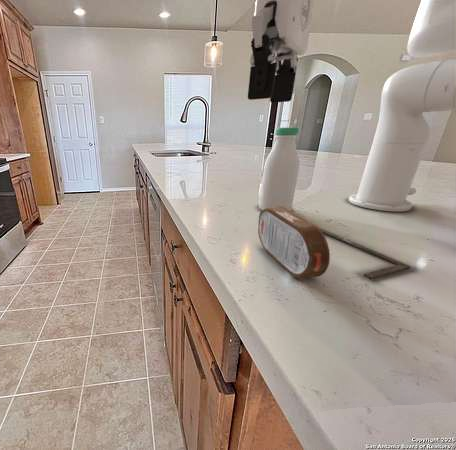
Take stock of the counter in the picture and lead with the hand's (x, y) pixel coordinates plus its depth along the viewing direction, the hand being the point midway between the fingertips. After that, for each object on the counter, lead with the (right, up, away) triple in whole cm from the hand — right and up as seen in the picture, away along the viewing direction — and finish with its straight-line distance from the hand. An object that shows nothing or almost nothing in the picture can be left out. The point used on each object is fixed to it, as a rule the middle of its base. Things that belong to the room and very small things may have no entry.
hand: (270, 100), depth 37 cm
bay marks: (+14, -22, +9) cm, 28 cm away
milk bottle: (+14, -15, +27) cm, 34 cm away
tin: (+4, -25, +4) cm, 26 cm away
